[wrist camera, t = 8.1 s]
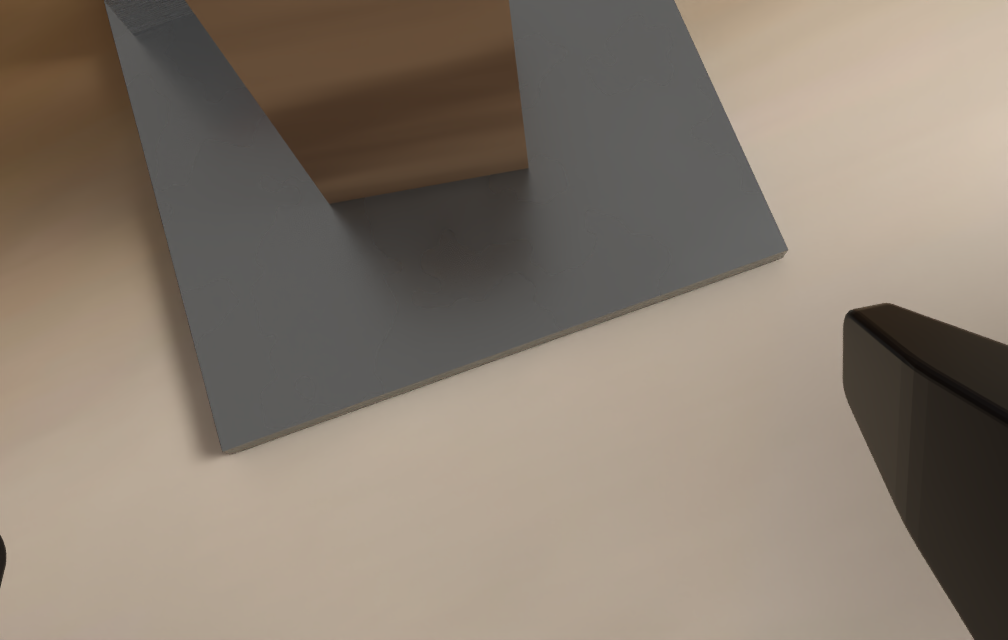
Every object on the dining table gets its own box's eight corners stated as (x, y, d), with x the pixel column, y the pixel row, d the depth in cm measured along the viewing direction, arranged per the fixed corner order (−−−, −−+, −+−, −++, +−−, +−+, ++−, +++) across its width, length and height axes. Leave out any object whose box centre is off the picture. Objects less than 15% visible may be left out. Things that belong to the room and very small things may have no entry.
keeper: (782, 257, 22) (879, 121, 15) (231, 454, 22) (70, 408, 15) (579, -189, 25) (581, -467, 19) (105, -24, 25) (-73, -241, 18)
